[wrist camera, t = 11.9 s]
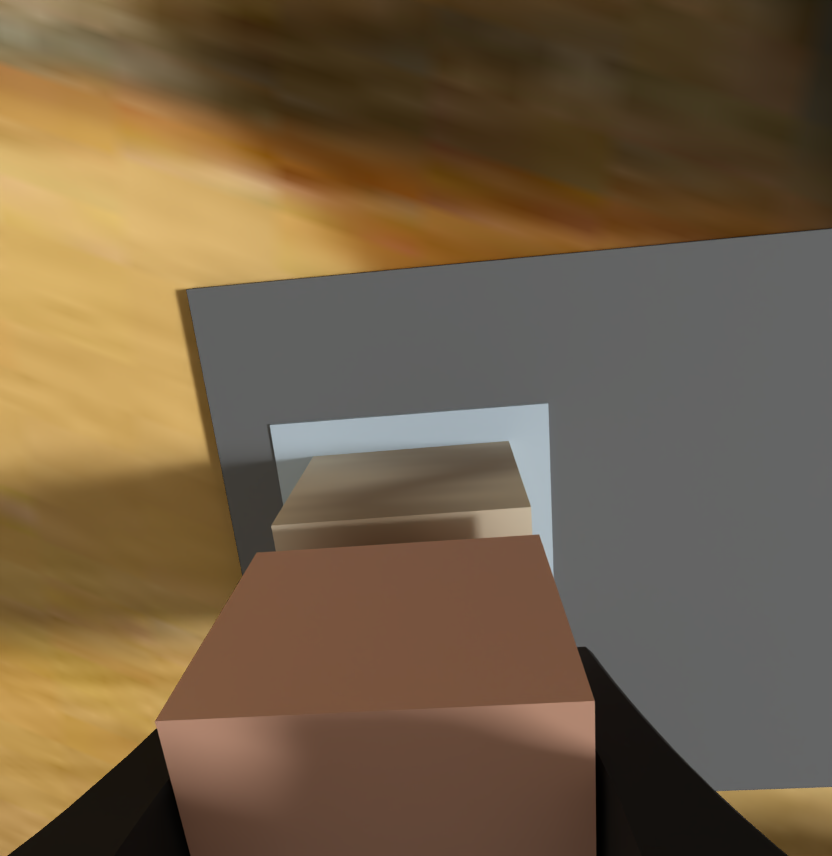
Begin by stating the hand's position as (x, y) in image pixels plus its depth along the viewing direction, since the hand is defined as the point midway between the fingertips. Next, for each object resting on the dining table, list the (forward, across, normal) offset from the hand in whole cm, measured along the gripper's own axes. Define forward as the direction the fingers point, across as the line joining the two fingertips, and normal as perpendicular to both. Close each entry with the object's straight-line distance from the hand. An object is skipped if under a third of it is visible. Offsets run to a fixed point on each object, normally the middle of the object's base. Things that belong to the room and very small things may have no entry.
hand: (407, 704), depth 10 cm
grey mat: (+6, -5, +1) cm, 8 cm away
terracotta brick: (+1, 0, 0) cm, 1 cm away
